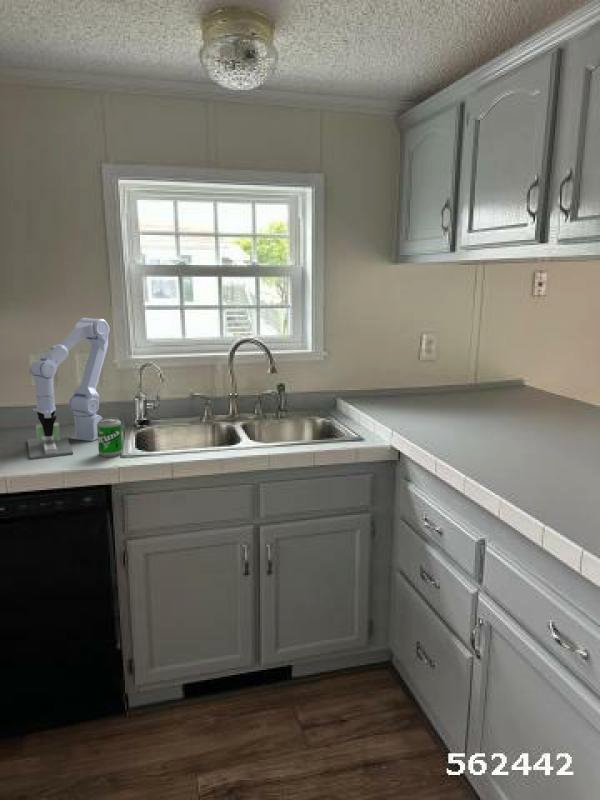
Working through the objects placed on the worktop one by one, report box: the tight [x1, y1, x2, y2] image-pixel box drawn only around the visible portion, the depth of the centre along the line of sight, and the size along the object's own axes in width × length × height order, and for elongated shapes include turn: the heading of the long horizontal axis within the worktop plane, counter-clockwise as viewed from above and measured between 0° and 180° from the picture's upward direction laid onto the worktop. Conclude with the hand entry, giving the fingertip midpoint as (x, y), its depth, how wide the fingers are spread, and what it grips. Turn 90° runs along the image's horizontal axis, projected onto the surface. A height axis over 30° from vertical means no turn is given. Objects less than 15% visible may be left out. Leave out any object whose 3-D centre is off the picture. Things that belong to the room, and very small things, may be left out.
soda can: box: [97, 417, 123, 458], centre depth 182 cm, size 8×8×12 cm
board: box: [26, 435, 74, 460], centre depth 189 cm, size 13×22×2 cm, turn 28°
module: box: [35, 421, 61, 443], centre depth 188 cm, size 7×5×6 cm
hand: (48, 433), depth 188 cm, fingers closed on module, 5 cm apart
